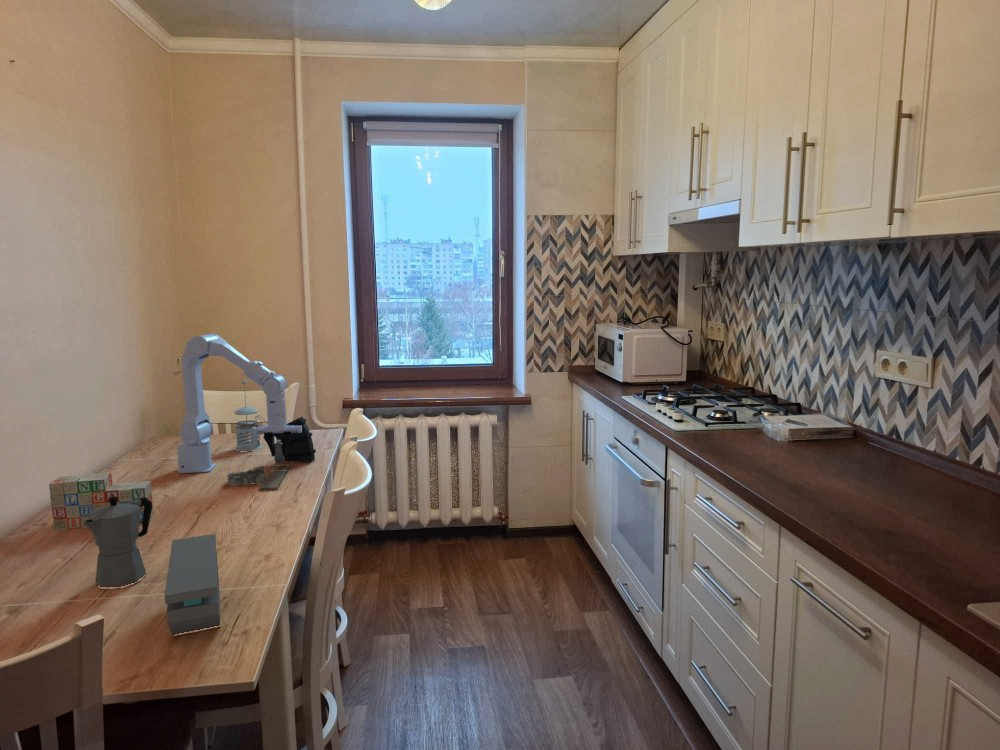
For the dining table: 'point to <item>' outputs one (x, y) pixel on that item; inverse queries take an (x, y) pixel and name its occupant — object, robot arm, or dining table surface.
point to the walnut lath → (275, 477)
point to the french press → (247, 429)
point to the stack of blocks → (90, 497)
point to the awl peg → (279, 452)
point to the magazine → (299, 443)
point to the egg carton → (247, 477)
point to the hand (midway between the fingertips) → (279, 455)
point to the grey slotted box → (193, 585)
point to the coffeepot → (119, 541)
